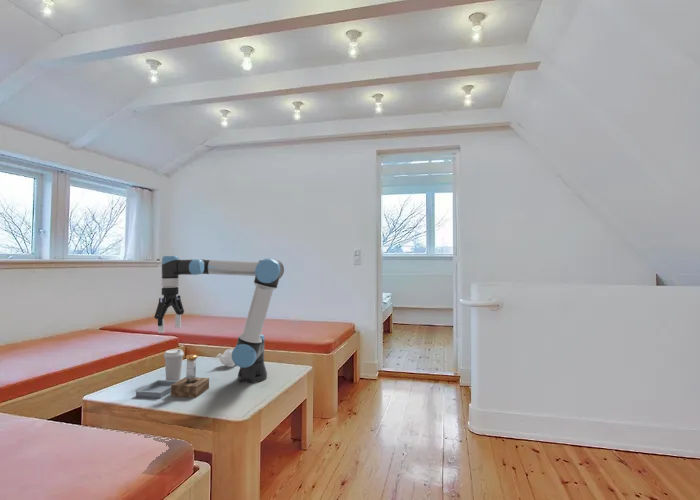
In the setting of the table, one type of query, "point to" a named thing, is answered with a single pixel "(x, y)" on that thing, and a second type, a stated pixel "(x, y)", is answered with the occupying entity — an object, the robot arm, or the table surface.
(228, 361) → the teapot
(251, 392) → the table surface
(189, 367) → the hitch pin
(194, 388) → the socket block
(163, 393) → the tray
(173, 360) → the coffee cup
